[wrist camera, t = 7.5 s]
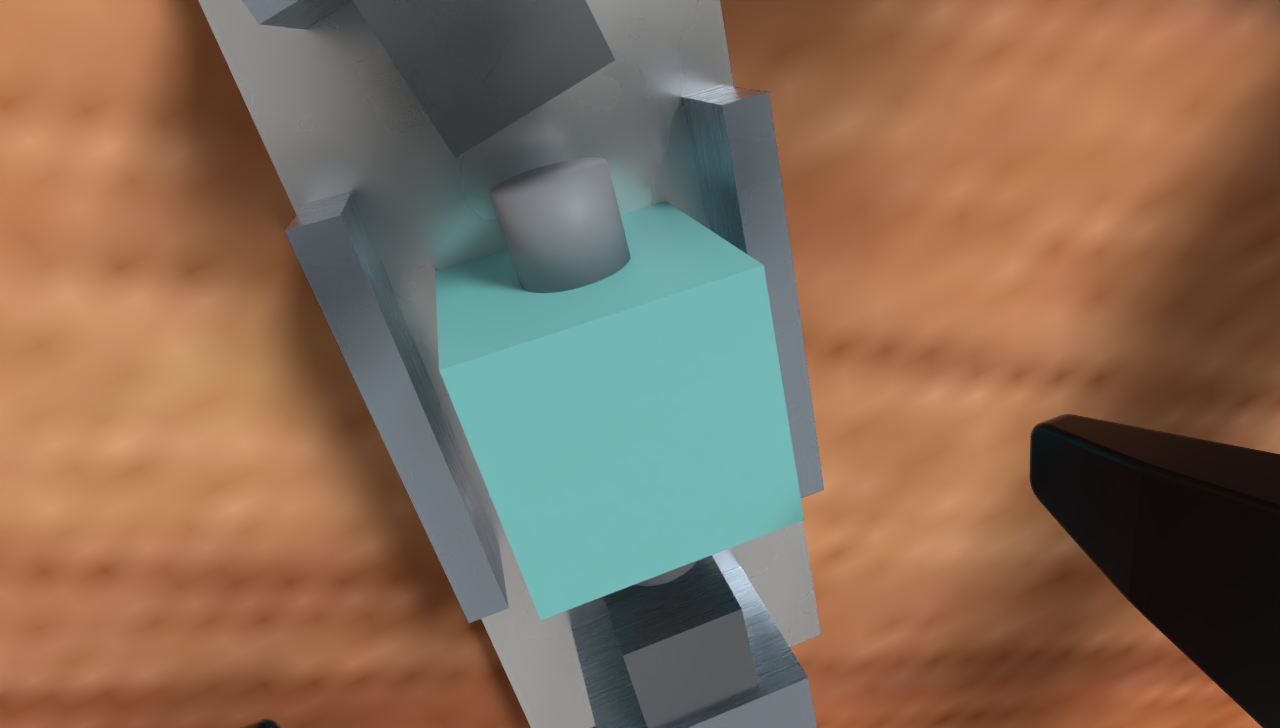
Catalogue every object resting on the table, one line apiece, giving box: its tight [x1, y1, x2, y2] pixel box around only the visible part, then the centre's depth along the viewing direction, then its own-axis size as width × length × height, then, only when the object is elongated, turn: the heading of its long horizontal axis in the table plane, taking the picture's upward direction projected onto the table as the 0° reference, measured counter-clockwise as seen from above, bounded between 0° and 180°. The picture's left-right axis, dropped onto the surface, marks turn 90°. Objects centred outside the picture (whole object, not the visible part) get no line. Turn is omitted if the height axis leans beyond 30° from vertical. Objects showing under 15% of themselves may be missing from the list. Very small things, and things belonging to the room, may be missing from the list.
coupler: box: [435, 157, 804, 620], centre depth 12 cm, size 4×8×4 cm, turn 14°
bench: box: [198, 0, 824, 728], centre depth 13 cm, size 8×21×5 cm, turn 14°
